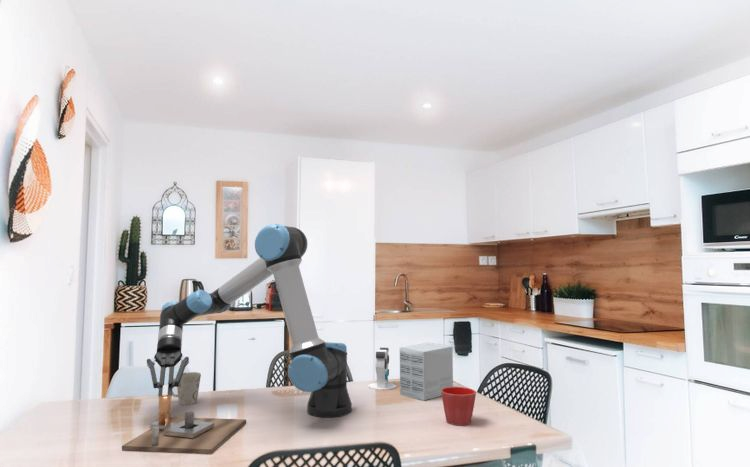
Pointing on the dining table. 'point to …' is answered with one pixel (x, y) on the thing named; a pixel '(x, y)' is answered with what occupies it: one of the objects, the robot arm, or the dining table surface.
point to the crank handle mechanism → (178, 428)
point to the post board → (175, 444)
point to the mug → (188, 388)
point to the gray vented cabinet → (425, 370)
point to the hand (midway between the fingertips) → (164, 406)
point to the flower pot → (458, 404)
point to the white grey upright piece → (382, 371)
